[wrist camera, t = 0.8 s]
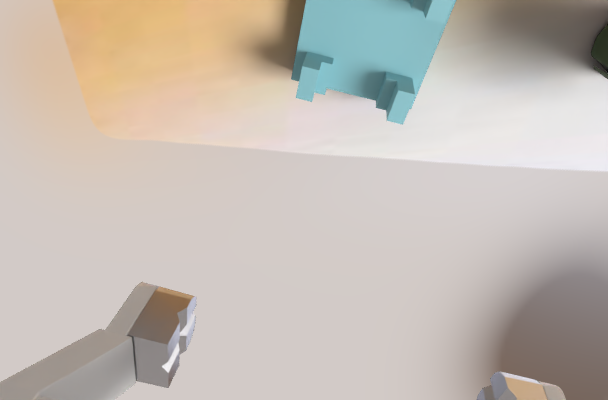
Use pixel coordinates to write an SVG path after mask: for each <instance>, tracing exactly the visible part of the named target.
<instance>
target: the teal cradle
mask: <svg viewBox="0 0 608 400" xmlns="http://www.w3.org/2000/svg"><path fill="white" fill-rule="evenodd" d="M455 2H456V0H306V4H305V9H304V14H303V20H302V25H301V30H300V35H299V41H298V46H297V51H296V56H295V62H294V67H293V72H292V78H291V79H292V80H296V81H299V85H298V90H297V95H296V98H299V99H303V100H307V101H311V102H312V100H313V96H314V92H315V93H319V94H323V95H325V92H326V88H328V89H332V90H336V91H340V92H344V93H348V94H352V95H356V96H360V97H364V98H367V99H371V100H375V101H376V108H379V109H383V110H386V113H387V121H391V122H395V123H399V124H403V123H404V120H405V118H406V116H407V113H408V111H409V109H411V108H412V105H413V103H414V101H415V98H416V96H417V93H418V91H419V89H420V86H421V84H422V81H423V79H424V76H425V74H426V72H427V69H428V67H429V64H430V62H431V60H432V57H433V55H434V52H435V50H436V48H437V45H438V43H439V40H440V38H441V36H442V33H443V31H444V28H445V26H446V24H447V21H448V19H449V16H450V14H451V12H452V9H453V7H454V4H455Z"/></svg>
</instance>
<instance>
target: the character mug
mask: <svg viewBox="0 0 608 400" xmlns="http://www.w3.org/2000/svg"><path fill="white" fill-rule="evenodd" d="M591 55H592V57H593V58H595V59H596V60H598V61H599V62H600V63H601V64H602V66H603V67H604V69H605V70H606V71H607V73H608V25H607V26H606V27H605V28H604V29H603V30H602V32H601V33H600V34H599V35H598V36H597V38H596V40H595V43H594V46H593V49H592V51H591ZM593 66H594V65H593ZM594 69H595V70H597V71H598V72H599V73H600V74H601V75H603V76H604V77H605V78H607V79H608V74H607V73H605V72H604V71H602V70H600V69H599V68H597V67H596V66H594Z"/></svg>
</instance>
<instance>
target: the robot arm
mask: <svg viewBox="0 0 608 400" xmlns="http://www.w3.org/2000/svg"><path fill="white" fill-rule="evenodd" d="M195 307H196V297H195V296H192V295H188V294H184V293H181V292H177V291H173V290H170V289H166V288H163V287H159V286H155V285H151V284H147V283H143V282H141V283H140V284H138V285H137V286H136V287H135V288H134V290H133V291H132V293H131V294H130V296H129V297H128V298H127V300H126V302H125V303H124V304H123V306H122V307H121V309H120V310H119V311H118V313H117V314H116V316H115V317H114V319H113V320H112V321H111V323H110V324H109V326H108V327H107V329H106V330H102V329H99V330H97V331H95V332H93V333H91V334H89V335H88V336H86V337H84V338H82V339H80V340H78V341H77V342H74V343H73V344H71V345H69V346H67V347H65V348H63V349H61V350H60V351H58V352H56V353H54V354H52V355H50V356H48V357H47V358H45V359H43V360H41V361H39V362H37V363H35V364H33V365H31V366H30V367H28V368H26V369H24V370H22V371H20V372H18V373H16V374H15V375H13V376H11V377H9V378H7V379H5V380H3V381H1V382H0V400H115V399H116V398H117V397H118V396H120V395H121V394H123V393H124V392H125V391H126V390H128V389H129V388H130V387H132V386H133V385H134V384H135V383H136V381H139V382H144V383H148V384H153V385H157V386H162V387H166V388H168V387H169V386H170V383H171V381H172V379H173V377H174V375H175V373H176V371H177V369H178V367H179V355H180V354H181V353H183V352H184V351H186V349H187V347H188V345H189V343H190V340H191V337H192V334H193V331H194V327H195V319H196V316H195V315H194V313H193V311H194V309H195ZM490 380H491V384H492V385H490V386H487V387H484V388H482V390H481V391H480V393H479V394H478V397H477V400H566V399H565V396H564V394H563V392H562V390H561V389H560V388H559V387H558V386H556V385H552V384H548V383H544V382H540V381H536V380H534V379H529V378H525V377H521V376H516V375H512V374H508V373H504V372H497V373H494V375H493V376H492V377H491V378H490Z"/></svg>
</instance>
